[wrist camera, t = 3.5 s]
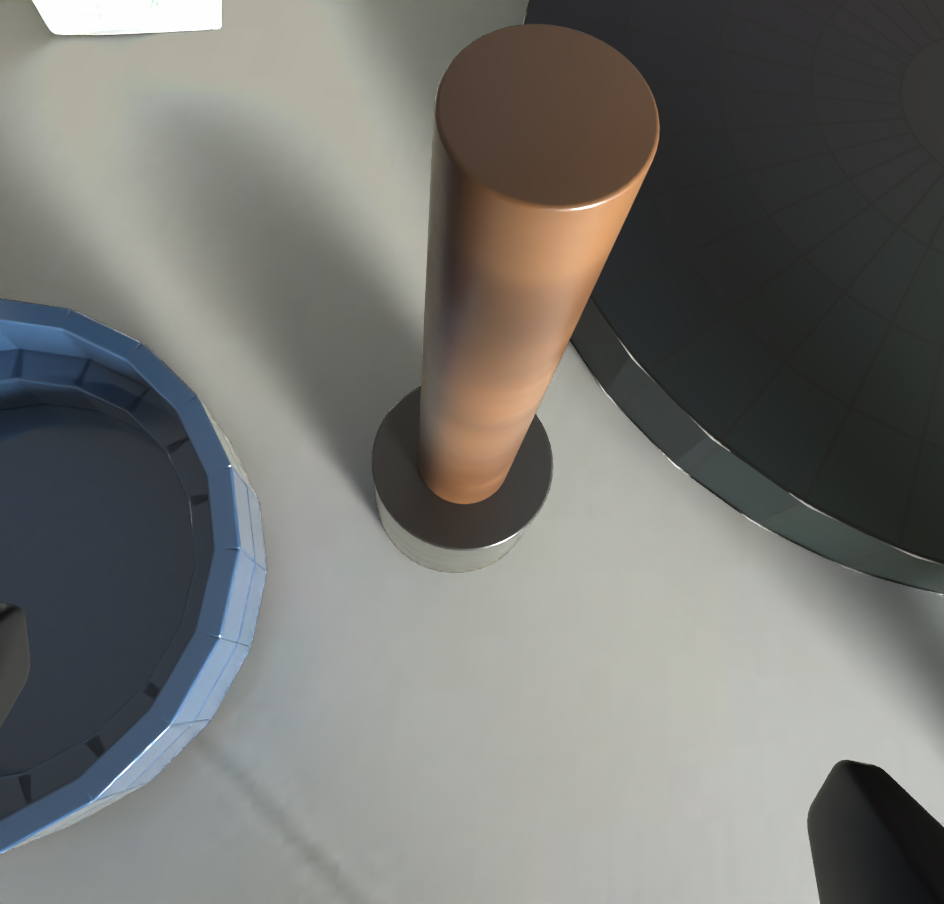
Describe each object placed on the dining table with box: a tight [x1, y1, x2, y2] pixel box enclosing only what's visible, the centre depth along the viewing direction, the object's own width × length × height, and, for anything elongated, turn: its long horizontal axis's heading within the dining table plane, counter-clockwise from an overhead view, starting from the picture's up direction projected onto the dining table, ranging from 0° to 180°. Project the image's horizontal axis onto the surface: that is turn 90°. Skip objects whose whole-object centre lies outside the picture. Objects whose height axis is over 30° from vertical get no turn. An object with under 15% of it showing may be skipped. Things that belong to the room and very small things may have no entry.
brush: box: [372, 24, 660, 573], centre depth 14 cm, size 4×4×15 cm
